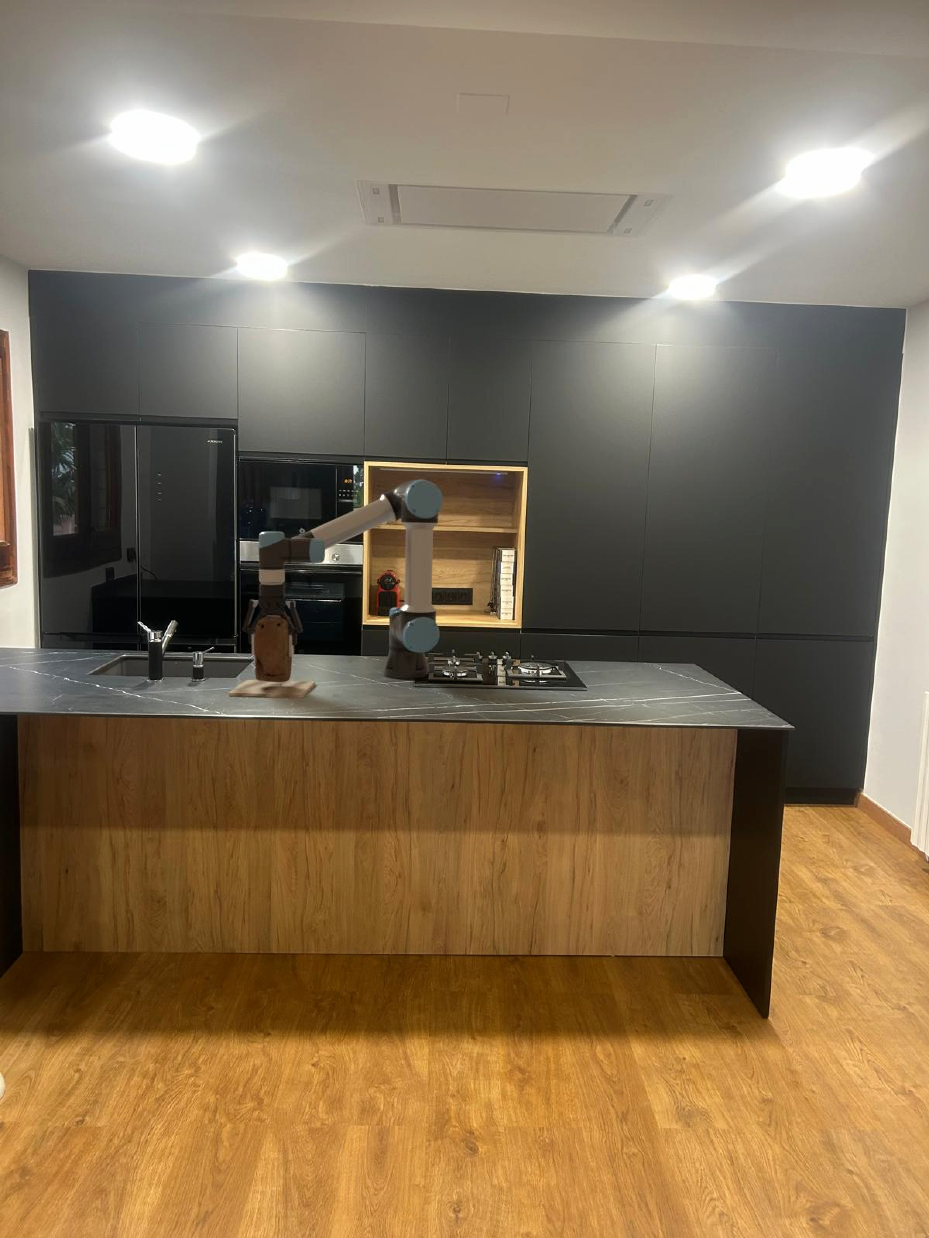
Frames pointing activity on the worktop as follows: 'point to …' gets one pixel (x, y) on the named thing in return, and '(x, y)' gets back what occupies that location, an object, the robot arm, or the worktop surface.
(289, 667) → the block
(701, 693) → the worktop surface
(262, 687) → the wooden cutting board
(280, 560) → the robot arm
